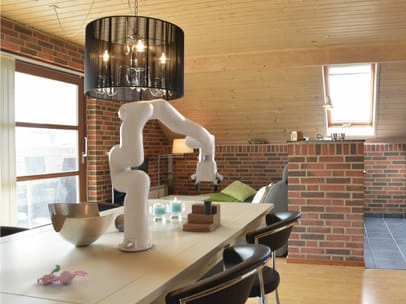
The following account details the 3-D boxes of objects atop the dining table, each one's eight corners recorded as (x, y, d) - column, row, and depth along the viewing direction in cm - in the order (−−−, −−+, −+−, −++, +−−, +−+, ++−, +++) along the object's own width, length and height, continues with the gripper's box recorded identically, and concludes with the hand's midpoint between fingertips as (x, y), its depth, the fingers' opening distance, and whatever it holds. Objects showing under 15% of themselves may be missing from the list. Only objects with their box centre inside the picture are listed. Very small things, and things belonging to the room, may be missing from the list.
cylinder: (210, 215, 174) (210, 201, 174) (202, 214, 175) (202, 200, 175) (212, 213, 178) (212, 200, 177) (205, 213, 179) (205, 199, 179)
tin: (117, 232, 168) (117, 215, 168) (113, 231, 170) (113, 214, 170) (143, 226, 180) (142, 210, 180) (139, 226, 182) (139, 210, 182)
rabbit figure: (34, 291, 102) (82, 284, 100) (31, 271, 102) (78, 263, 100) (48, 283, 108) (93, 276, 106) (45, 264, 108) (90, 257, 106)
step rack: (209, 232, 167) (209, 209, 167) (182, 230, 171) (182, 208, 171) (220, 224, 183) (220, 204, 183) (195, 223, 187) (195, 203, 187)
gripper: (188, 158, 174) (188, 192, 174) (220, 159, 170) (220, 193, 170) (194, 158, 182) (194, 191, 182) (225, 158, 177) (225, 192, 177)
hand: (206, 192), depth 176 cm, fingers open, 9 cm apart
